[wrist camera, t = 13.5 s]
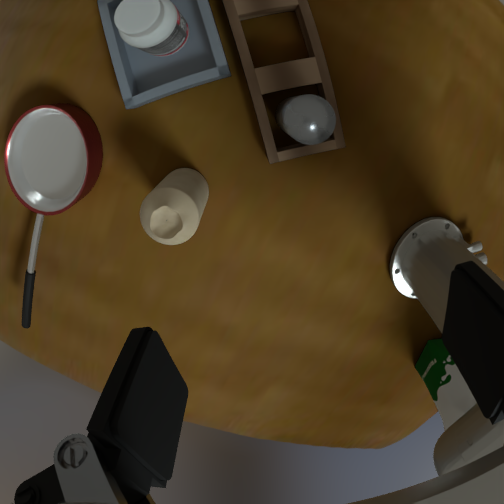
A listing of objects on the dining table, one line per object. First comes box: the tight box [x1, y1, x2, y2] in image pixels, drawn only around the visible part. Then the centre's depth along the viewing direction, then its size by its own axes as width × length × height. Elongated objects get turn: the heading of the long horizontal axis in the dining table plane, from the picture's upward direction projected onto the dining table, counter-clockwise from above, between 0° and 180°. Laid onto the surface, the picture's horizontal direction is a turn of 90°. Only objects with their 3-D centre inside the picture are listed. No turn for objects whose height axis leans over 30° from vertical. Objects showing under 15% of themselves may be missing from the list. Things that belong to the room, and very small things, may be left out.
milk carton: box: [415, 339, 477, 431], centre depth 40 cm, size 9×9×20 cm
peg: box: [275, 94, 336, 145], centre depth 28 cm, size 4×4×8 cm
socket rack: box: [222, 0, 346, 164], centre depth 26 cm, size 8×26×2 cm, turn 15°
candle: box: [140, 168, 209, 245], centre depth 30 cm, size 6×6×10 cm
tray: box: [97, 0, 231, 109], centre depth 25 cm, size 11×14×3 cm
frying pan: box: [4, 103, 103, 328], centre depth 33 cm, size 32×13×6 cm, turn 160°
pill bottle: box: [114, 0, 189, 57], centre depth 22 cm, size 5×5×10 cm
